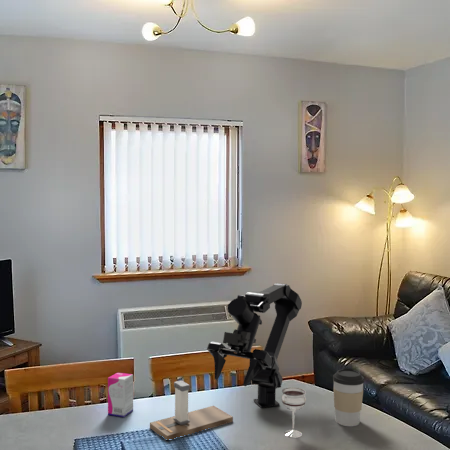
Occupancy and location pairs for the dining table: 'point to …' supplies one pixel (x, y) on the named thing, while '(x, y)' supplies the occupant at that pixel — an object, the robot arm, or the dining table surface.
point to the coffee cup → (348, 396)
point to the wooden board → (191, 422)
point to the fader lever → (181, 402)
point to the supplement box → (120, 394)
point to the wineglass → (293, 406)
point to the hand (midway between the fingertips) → (229, 382)
